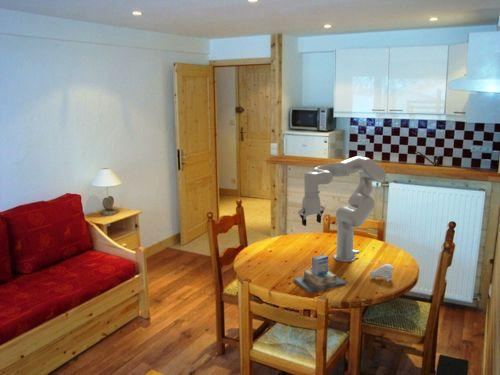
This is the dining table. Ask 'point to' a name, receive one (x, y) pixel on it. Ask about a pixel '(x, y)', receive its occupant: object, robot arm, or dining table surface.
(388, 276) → the grey rock
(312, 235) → the dining table surface
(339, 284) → the plinth
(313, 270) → the medicine box
